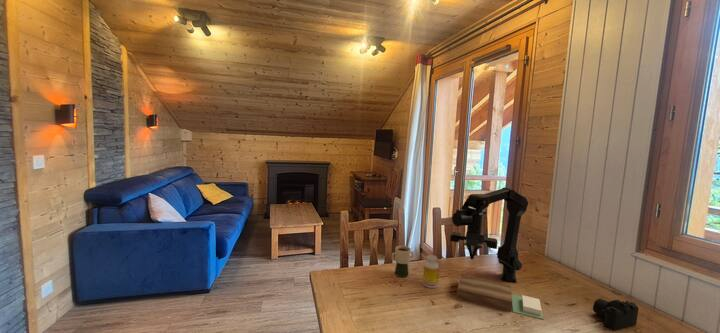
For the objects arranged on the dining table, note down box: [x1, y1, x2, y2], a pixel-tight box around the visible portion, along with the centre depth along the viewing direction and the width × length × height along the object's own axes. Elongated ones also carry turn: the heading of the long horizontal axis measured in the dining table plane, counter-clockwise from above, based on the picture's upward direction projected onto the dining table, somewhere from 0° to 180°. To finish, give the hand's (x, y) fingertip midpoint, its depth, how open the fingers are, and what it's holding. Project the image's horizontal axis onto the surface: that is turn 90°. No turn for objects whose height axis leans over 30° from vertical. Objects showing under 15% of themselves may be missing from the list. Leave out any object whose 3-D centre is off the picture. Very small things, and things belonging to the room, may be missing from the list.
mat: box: [512, 293, 544, 320], centre depth 118 cm, size 14×10×1 cm
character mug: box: [391, 245, 415, 278], centre depth 140 cm, size 11×7×13 cm, turn 104°
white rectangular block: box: [522, 294, 542, 316], centre depth 117 cm, size 9×6×2 cm, turn 154°
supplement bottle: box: [422, 254, 440, 289], centre depth 132 cm, size 7×7×13 cm
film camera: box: [592, 298, 639, 331], centre depth 111 cm, size 15×10×9 cm, turn 109°
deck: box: [456, 274, 513, 312], centre depth 124 cm, size 14×20×4 cm
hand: (471, 259), depth 130 cm, fingers closed
